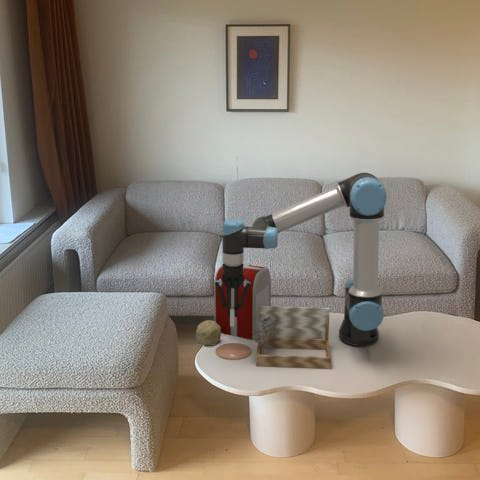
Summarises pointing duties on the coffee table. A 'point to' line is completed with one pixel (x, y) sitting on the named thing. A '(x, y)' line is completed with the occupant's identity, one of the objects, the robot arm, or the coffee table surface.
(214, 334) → the decorative object
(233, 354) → the peach round smooth part
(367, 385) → the coffee table surface
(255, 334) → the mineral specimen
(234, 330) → the red striped box
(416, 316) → the coffee table surface
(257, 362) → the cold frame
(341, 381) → the coffee table surface
